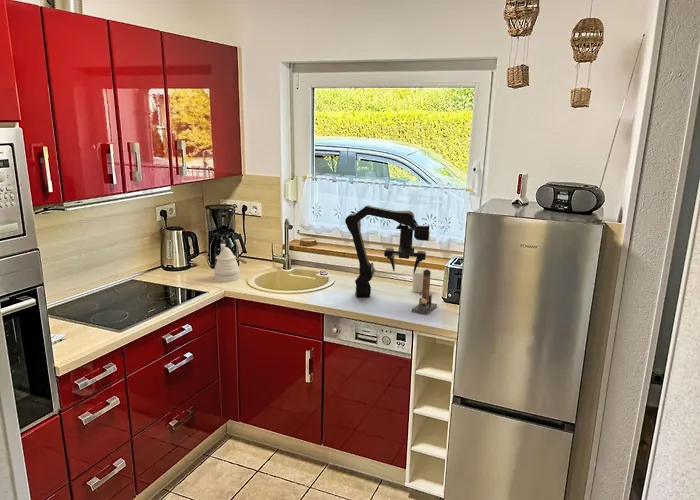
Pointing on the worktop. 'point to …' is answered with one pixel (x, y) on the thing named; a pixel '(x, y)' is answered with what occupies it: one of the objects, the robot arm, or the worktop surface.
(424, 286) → the lever
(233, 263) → the honey pot
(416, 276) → the white cup
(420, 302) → the press base
